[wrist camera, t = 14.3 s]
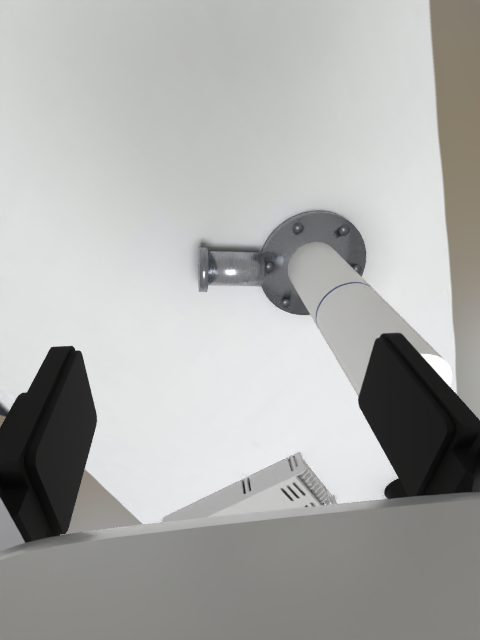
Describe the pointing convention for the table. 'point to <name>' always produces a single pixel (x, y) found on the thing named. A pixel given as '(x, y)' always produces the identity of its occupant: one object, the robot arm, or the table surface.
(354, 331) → the cylindrical container
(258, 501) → the power supply unit
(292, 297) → the flange fitting
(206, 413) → the table surface
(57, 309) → the table surface
